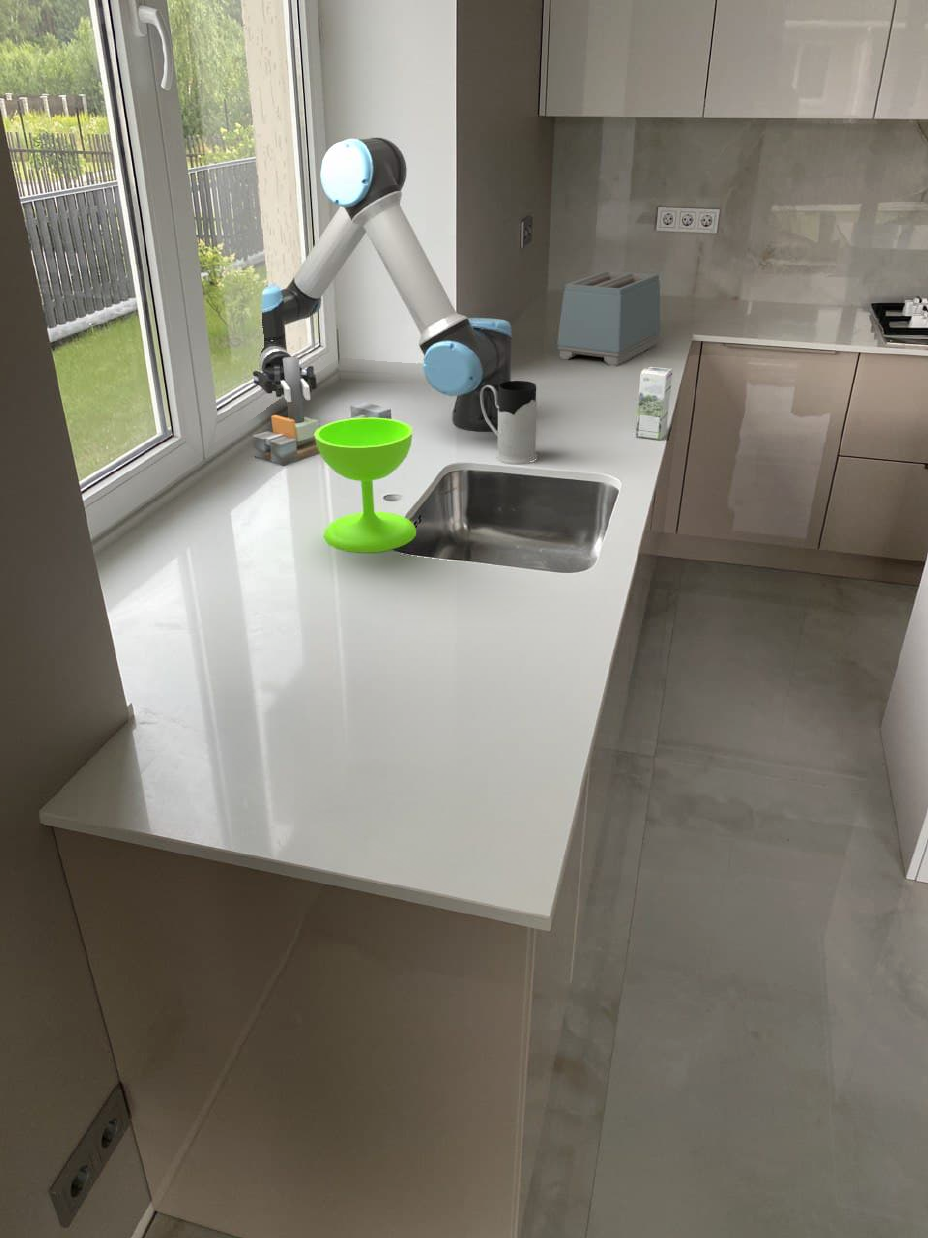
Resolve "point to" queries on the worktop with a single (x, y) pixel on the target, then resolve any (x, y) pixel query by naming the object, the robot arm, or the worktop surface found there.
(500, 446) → the glass holder
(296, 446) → the rail base
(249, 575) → the worktop surface
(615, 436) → the worktop surface
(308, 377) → the robot arm
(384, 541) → the wineglass
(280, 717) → the worktop surface
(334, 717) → the worktop surface
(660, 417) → the syrup box
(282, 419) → the orange block
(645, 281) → the toaster
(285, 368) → the carriage
